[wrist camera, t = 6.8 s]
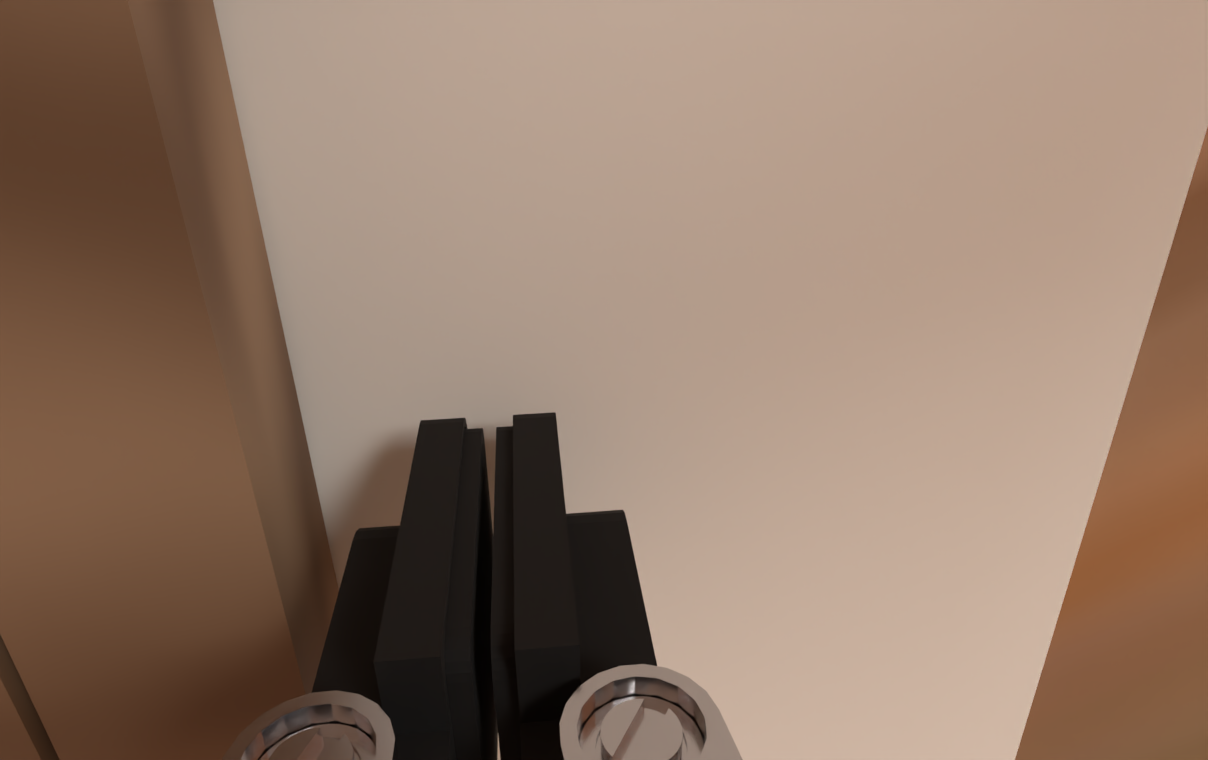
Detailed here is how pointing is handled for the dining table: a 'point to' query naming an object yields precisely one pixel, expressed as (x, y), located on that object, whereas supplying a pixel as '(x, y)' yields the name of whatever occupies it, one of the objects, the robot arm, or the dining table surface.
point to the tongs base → (19, 717)
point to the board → (744, 306)
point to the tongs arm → (145, 394)
